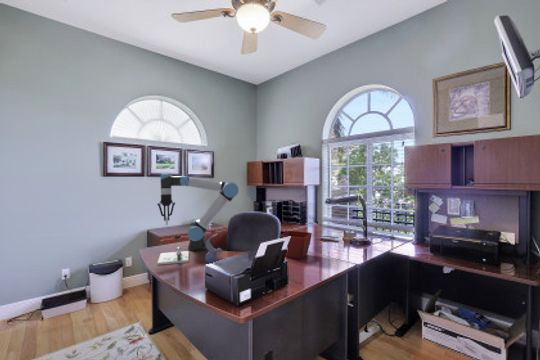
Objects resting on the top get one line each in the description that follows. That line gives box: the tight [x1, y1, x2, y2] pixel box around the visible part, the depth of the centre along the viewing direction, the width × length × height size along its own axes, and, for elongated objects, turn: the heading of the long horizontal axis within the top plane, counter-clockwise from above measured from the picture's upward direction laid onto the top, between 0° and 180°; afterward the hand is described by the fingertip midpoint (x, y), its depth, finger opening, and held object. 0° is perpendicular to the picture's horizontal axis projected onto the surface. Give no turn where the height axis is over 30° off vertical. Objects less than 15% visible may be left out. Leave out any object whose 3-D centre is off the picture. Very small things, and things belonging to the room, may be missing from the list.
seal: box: [204, 233, 223, 264], centre depth 175 cm, size 8×12×20 cm
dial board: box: [156, 250, 190, 266], centre depth 185 cm, size 20×22×2 cm
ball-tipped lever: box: [175, 246, 182, 260], centre depth 184 cm, size 19×4×4 cm, turn 20°
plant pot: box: [279, 230, 313, 260], centre depth 193 cm, size 19×19×17 cm
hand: (166, 224), depth 193 cm, fingers closed
